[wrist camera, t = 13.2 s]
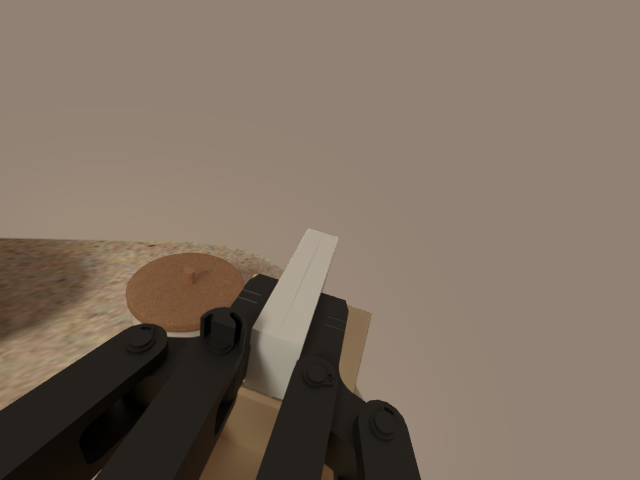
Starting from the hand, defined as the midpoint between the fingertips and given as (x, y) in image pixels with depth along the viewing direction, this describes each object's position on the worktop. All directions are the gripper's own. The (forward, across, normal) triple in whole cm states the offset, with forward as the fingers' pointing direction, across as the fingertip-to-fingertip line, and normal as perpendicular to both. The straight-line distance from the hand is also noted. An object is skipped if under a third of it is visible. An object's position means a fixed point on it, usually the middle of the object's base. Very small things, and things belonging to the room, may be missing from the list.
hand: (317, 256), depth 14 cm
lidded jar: (+9, -12, -21) cm, 26 cm away
